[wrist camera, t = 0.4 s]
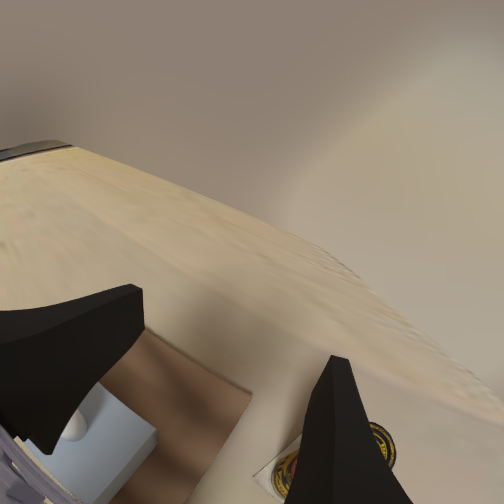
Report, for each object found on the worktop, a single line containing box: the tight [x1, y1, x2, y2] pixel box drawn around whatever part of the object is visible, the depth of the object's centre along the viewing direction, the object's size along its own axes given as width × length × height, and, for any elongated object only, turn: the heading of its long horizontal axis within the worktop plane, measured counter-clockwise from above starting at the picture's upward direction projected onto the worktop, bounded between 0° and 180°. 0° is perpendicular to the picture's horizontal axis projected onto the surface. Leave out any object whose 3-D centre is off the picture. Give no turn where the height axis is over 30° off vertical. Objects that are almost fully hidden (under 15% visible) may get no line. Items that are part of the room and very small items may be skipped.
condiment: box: [252, 422, 396, 504], centre depth 17 cm, size 7×8×12 cm
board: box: [98, 329, 252, 504], centre depth 21 cm, size 20×20×1 cm
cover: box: [24, 382, 158, 504], centre depth 14 cm, size 9×10×9 cm
